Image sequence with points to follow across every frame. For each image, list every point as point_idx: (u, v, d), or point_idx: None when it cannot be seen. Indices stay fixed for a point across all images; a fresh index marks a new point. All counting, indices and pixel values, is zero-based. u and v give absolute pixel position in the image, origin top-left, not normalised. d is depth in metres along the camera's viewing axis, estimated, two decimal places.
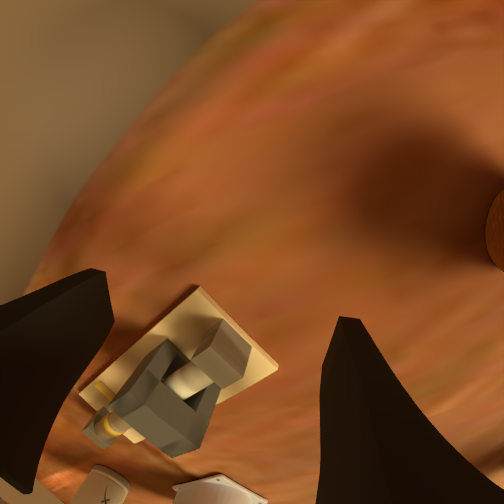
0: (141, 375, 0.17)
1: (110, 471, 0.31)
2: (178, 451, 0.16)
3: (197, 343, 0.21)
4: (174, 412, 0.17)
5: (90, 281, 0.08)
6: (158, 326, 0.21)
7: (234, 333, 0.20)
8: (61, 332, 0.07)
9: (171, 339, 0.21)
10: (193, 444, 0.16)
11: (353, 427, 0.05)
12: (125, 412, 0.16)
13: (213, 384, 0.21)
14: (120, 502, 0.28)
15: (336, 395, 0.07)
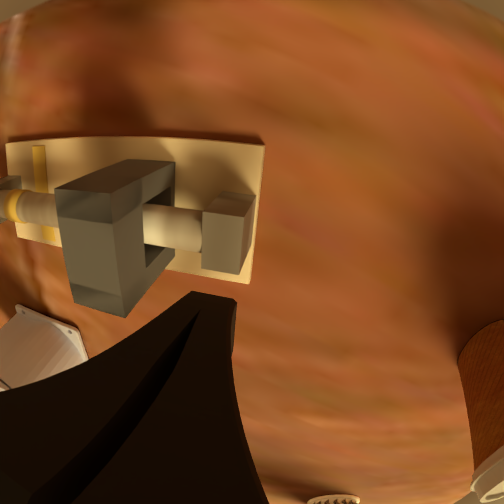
0: (132, 183, 0.11)
1: None
2: (92, 302, 0.13)
3: (200, 193, 0.16)
4: (130, 255, 0.12)
5: None
6: (177, 141, 0.15)
7: (253, 218, 0.16)
8: None
9: (176, 166, 0.16)
10: (122, 309, 0.12)
11: None
12: (71, 213, 0.11)
13: None
14: None
15: None
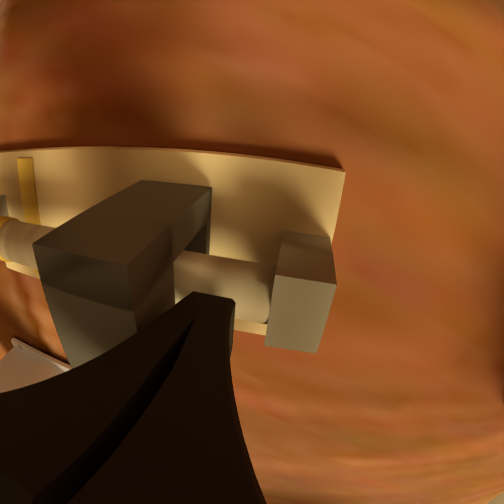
0: (159, 235, 0.07)
1: None
2: None
3: (252, 232, 0.12)
4: None
5: None
6: (220, 159, 0.11)
7: None
8: None
9: (218, 193, 0.12)
10: None
11: None
12: (63, 285, 0.07)
13: None
14: None
15: None
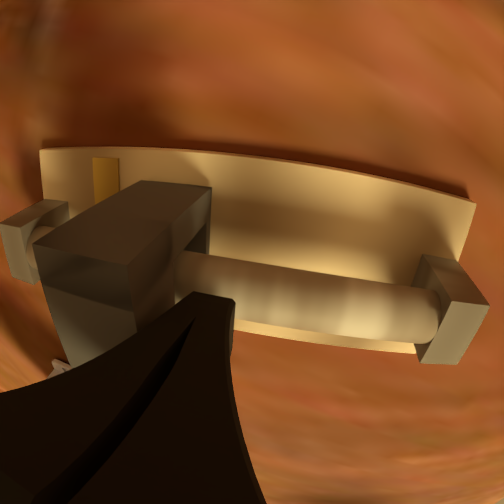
0: (159, 235, 0.07)
1: None
2: None
3: (394, 255, 0.11)
4: None
5: None
6: (377, 182, 0.10)
7: None
8: None
9: (369, 216, 0.11)
10: None
11: None
12: (63, 285, 0.07)
13: None
14: None
15: None
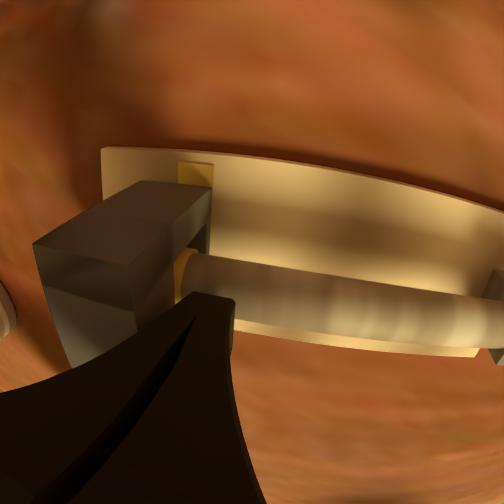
0: (160, 235, 0.07)
1: (3, 293, 0.18)
2: None
3: (473, 271, 0.11)
4: None
5: None
6: (468, 206, 0.10)
7: None
8: None
9: (459, 236, 0.11)
10: None
11: None
12: (64, 285, 0.07)
13: None
14: None
15: None
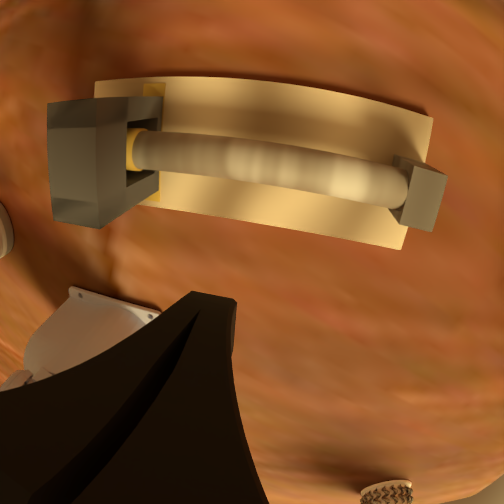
0: (119, 98, 0.11)
1: (5, 216, 0.22)
2: (70, 216, 0.12)
3: (372, 154, 0.15)
4: (111, 166, 0.12)
5: None
6: (354, 98, 0.14)
7: None
8: None
9: (350, 123, 0.14)
10: (98, 219, 0.12)
11: None
12: (60, 123, 0.10)
13: (157, 179, 0.17)
14: None
15: None
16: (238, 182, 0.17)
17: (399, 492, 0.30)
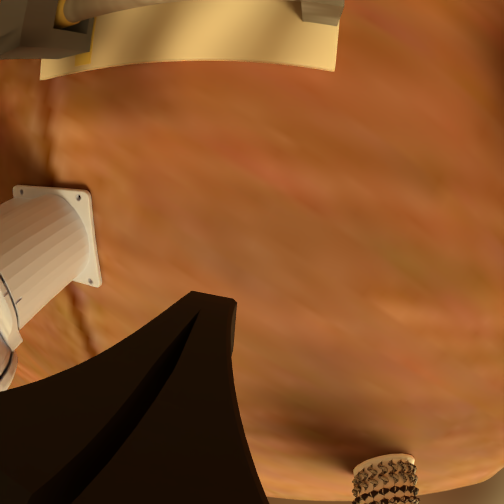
0: None
1: None
2: (2, 48, 0.09)
3: None
4: (41, 5, 0.09)
5: None
6: None
7: None
8: None
9: None
10: (20, 38, 0.09)
11: None
12: None
13: (88, 40, 0.14)
14: None
15: None
16: (157, 27, 0.13)
17: (400, 468, 0.26)
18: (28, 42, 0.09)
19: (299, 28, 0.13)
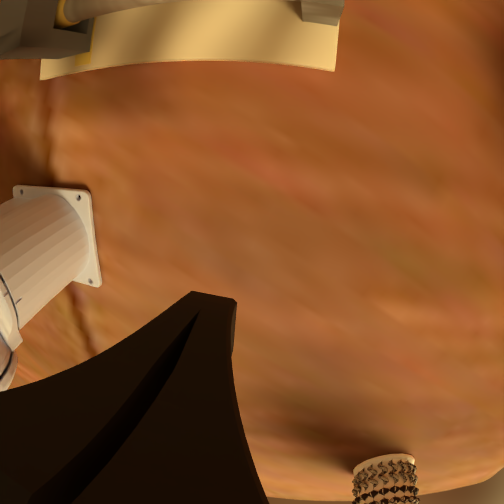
0: None
1: None
2: (2, 48, 0.09)
3: None
4: (41, 5, 0.09)
5: None
6: None
7: None
8: None
9: None
10: (20, 38, 0.09)
11: None
12: None
13: (88, 40, 0.14)
14: None
15: None
16: (157, 27, 0.13)
17: (400, 468, 0.26)
18: (28, 42, 0.09)
19: (299, 28, 0.13)
